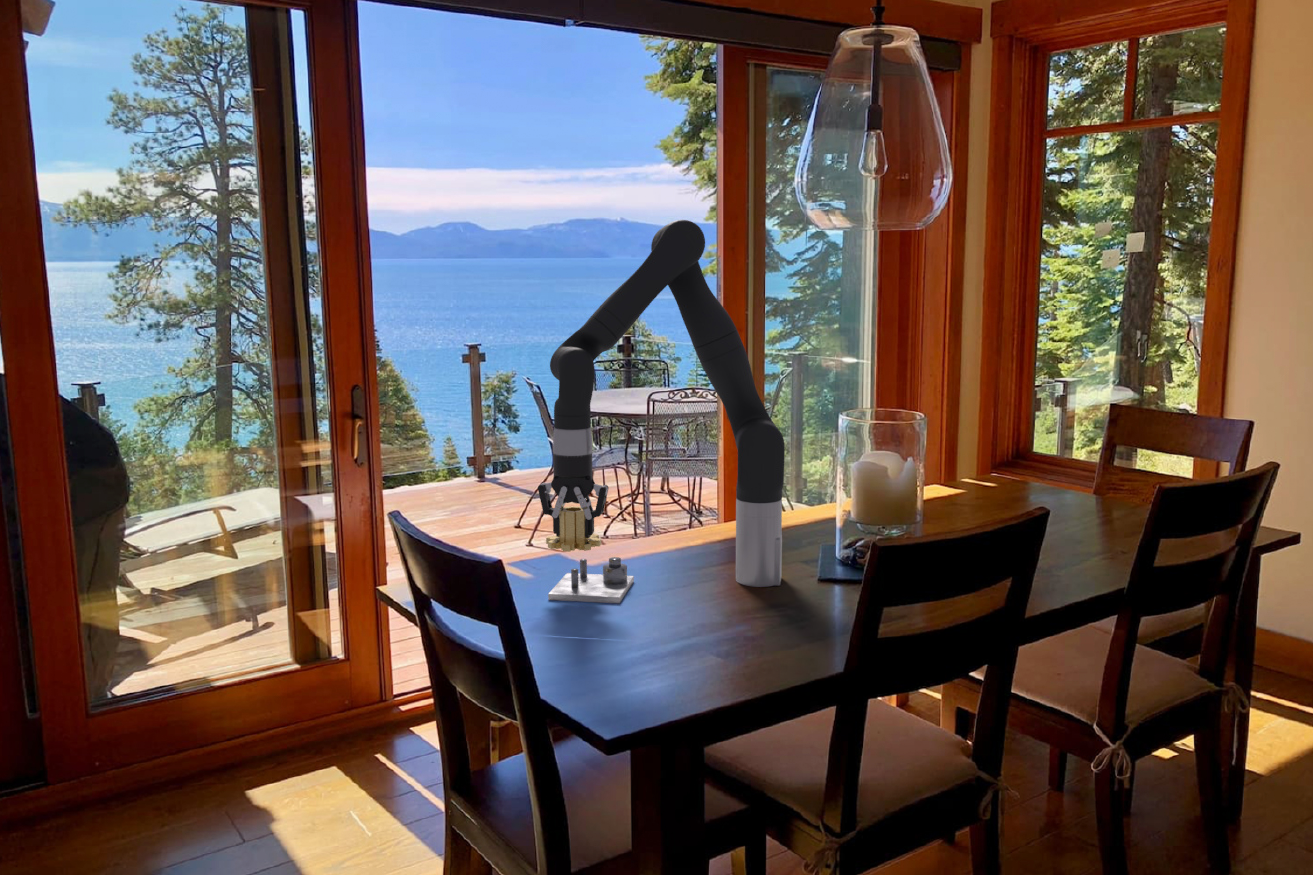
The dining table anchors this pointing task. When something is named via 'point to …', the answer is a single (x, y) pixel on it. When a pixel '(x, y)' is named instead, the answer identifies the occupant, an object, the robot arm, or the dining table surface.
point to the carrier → (594, 584)
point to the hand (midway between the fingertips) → (573, 536)
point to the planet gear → (572, 532)
